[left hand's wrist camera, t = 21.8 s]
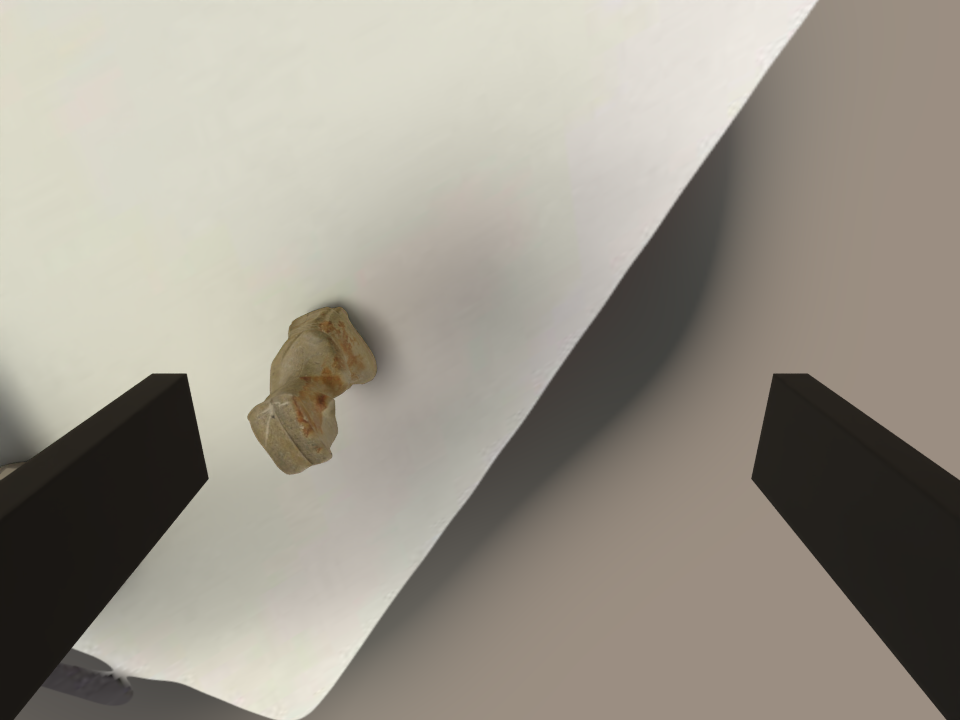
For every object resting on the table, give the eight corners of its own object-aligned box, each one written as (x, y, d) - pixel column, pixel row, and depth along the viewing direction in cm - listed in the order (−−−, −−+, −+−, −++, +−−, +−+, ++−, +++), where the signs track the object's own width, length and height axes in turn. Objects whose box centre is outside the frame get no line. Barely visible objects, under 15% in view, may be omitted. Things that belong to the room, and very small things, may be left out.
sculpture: (327, 390, 47) (263, 494, 33) (289, 313, 45) (202, 390, 31) (390, 368, 46) (352, 465, 32) (355, 289, 44) (296, 357, 30)
